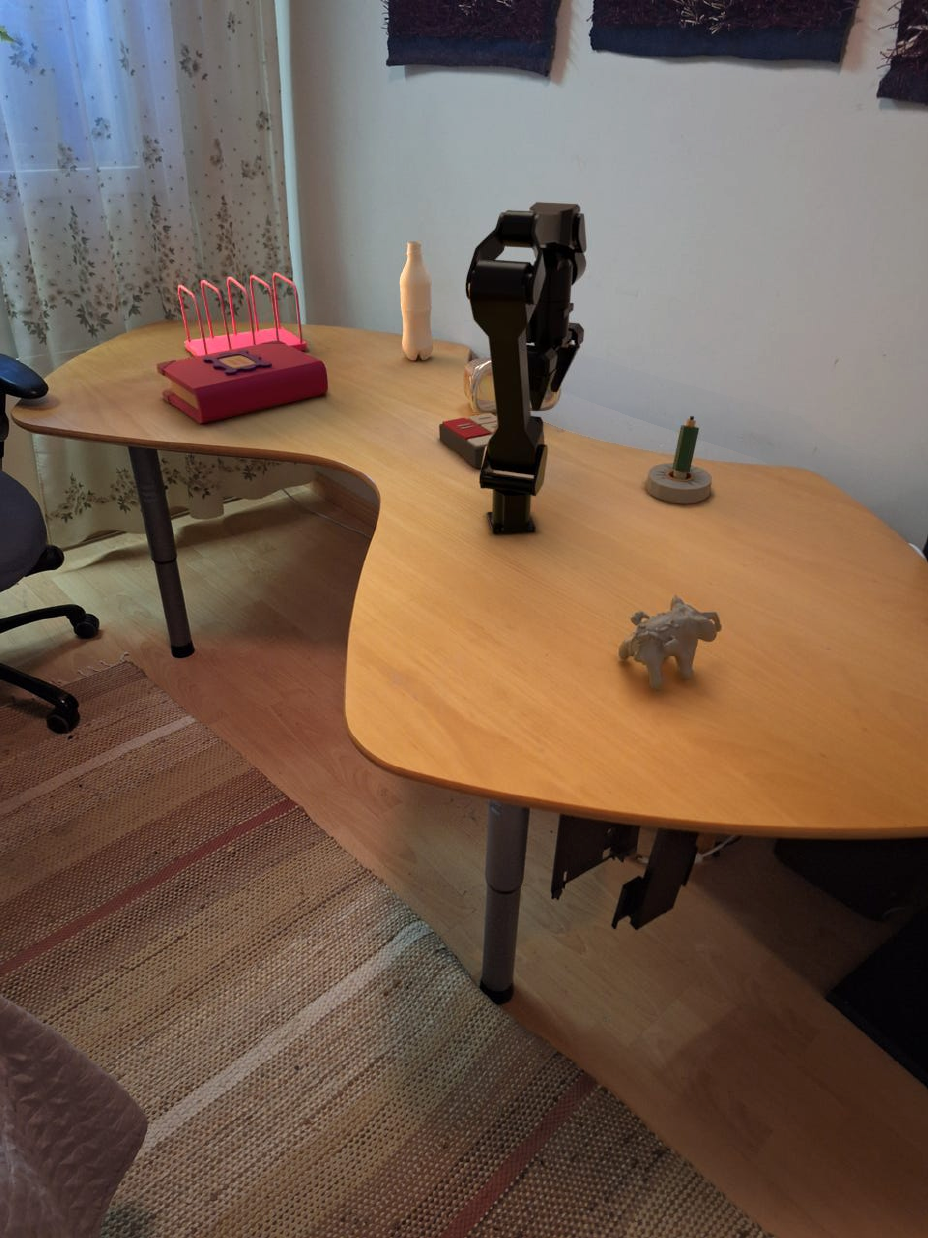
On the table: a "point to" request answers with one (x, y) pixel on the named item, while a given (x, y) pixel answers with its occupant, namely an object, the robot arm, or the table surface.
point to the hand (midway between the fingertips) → (545, 400)
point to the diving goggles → (491, 388)
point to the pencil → (685, 449)
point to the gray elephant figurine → (669, 639)
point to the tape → (678, 484)
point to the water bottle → (416, 305)
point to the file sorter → (240, 339)
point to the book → (242, 380)
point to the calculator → (469, 436)
